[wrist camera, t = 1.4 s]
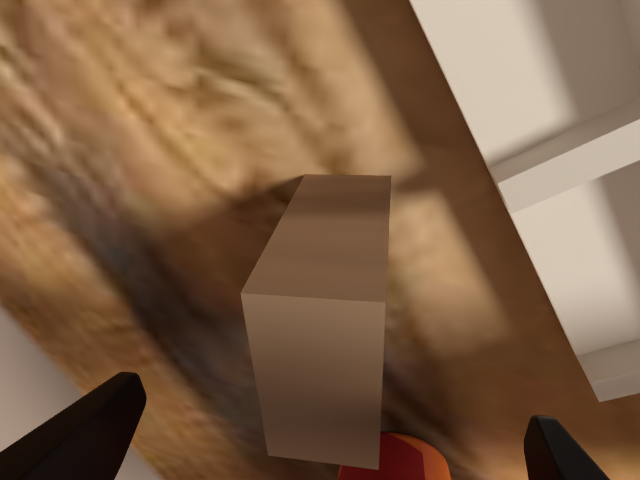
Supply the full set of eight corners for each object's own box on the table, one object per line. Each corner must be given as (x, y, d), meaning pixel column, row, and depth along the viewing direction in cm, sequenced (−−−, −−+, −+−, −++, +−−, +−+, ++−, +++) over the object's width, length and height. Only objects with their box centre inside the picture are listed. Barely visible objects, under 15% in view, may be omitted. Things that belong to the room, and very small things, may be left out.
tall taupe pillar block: (302, 174, 15) (237, 292, 9) (391, 175, 14) (385, 302, 8) (311, 298, 17) (265, 455, 11) (385, 303, 17) (378, 469, 11)
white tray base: (563, -293, 9) (634, -421, 6) (723, 302, 14) (795, 367, 12) (353, -117, 10) (339, -155, 8) (570, 345, 16) (603, 409, 14)
